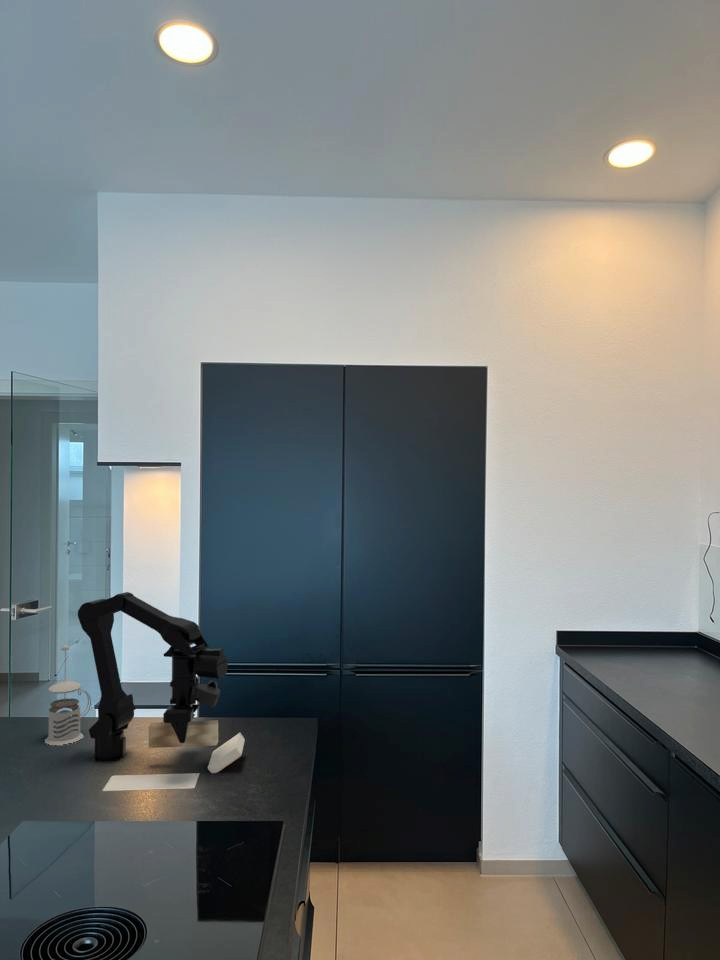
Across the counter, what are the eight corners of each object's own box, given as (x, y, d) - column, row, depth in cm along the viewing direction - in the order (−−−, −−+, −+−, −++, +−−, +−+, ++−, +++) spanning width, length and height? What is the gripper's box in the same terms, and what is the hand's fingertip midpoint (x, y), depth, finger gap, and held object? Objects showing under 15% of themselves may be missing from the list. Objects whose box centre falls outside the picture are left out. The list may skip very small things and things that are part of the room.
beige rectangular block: (148, 747, 162) (148, 726, 162) (151, 743, 165) (151, 722, 165) (216, 745, 163) (216, 724, 163) (218, 740, 166) (218, 720, 166)
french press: (39, 737, 183) (40, 644, 183) (83, 728, 190) (84, 638, 191) (50, 748, 175) (51, 651, 176) (96, 738, 183) (97, 645, 183)
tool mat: (102, 793, 150) (102, 790, 150) (112, 778, 158) (112, 775, 158) (194, 790, 151) (194, 788, 151) (199, 775, 159) (199, 773, 159)
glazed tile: (207, 767, 159) (236, 747, 160) (213, 751, 169) (239, 732, 170) (213, 776, 159) (241, 756, 160) (218, 759, 169) (245, 740, 170)
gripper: (212, 685, 155) (212, 754, 155) (222, 664, 174) (222, 725, 174) (163, 686, 155) (162, 755, 154) (178, 665, 173) (177, 727, 173)
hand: (183, 740), depth 164 cm, fingers closed on beige rectangular block, 3 cm apart
